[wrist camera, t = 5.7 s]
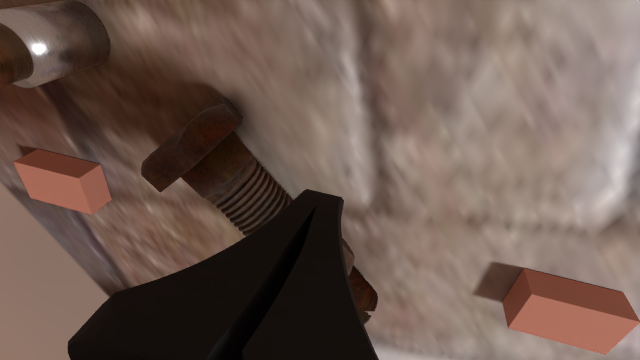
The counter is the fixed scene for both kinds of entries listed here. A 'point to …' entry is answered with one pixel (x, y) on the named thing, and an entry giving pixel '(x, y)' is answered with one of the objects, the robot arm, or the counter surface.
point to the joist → (568, 311)
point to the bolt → (232, 180)
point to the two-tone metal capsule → (49, 42)
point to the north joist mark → (64, 181)
